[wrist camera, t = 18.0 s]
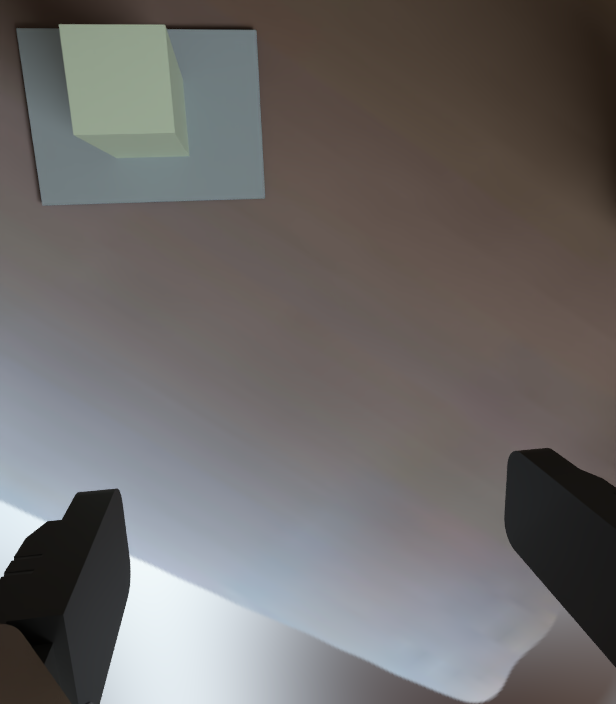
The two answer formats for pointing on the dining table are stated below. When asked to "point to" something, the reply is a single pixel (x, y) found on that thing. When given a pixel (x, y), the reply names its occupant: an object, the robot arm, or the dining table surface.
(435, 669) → the dining table surface
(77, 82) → the sage block
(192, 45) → the slate mat
